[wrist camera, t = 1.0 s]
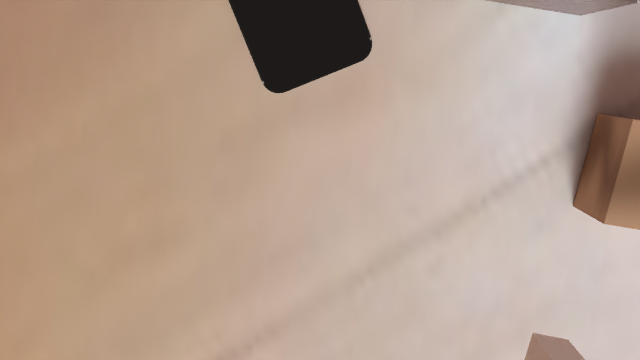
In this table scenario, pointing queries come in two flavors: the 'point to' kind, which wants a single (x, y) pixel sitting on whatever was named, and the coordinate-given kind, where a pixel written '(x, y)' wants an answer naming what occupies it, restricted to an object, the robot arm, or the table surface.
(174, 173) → the table surface
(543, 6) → the grey hollow square block
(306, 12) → the smartphone
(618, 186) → the wooden peg stand
